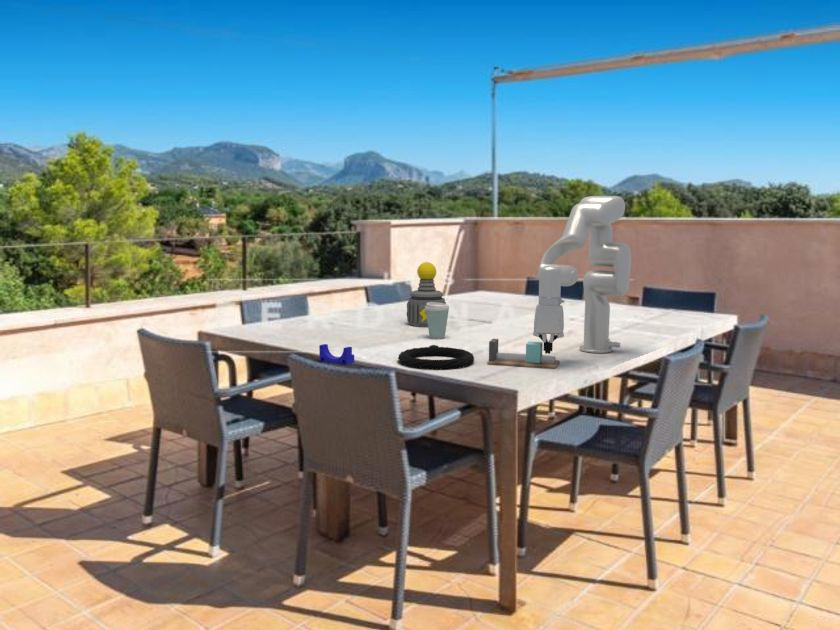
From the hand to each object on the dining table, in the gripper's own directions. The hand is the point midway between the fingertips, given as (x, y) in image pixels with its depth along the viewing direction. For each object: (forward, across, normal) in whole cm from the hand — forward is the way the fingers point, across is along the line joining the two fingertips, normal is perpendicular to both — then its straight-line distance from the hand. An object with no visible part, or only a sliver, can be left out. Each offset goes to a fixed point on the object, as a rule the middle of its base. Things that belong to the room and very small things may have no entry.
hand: (547, 353), depth 261 cm
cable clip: (+5, +73, +17) cm, 75 cm away
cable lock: (+5, +40, +6) cm, 40 cm away
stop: (+4, +20, 0) cm, 20 cm away
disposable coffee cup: (+5, +52, -43) cm, 67 cm away
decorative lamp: (+5, +67, -78) cm, 103 cm away
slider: (+3, +5, 0) cm, 6 cm away
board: (+4, +8, 0) cm, 10 cm away
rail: (+4, +8, 0) cm, 10 cm away
